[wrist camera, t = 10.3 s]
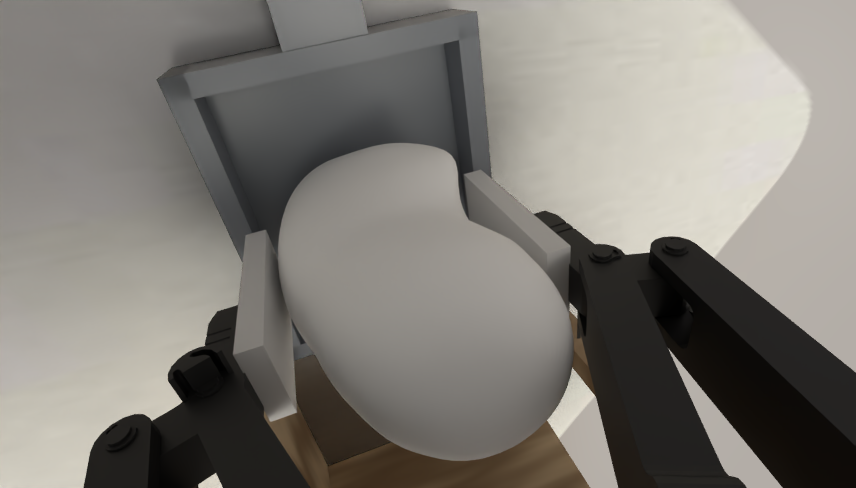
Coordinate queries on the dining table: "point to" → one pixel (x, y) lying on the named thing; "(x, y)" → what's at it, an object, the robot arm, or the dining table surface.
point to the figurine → (421, 305)
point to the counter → (437, 478)
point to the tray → (327, 105)
